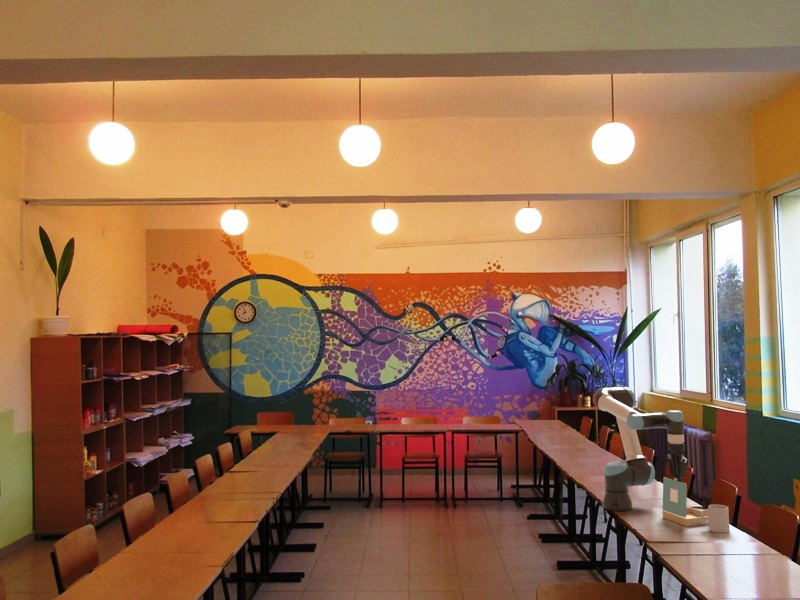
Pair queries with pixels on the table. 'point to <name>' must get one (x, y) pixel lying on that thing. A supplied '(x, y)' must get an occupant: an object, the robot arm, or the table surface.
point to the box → (687, 517)
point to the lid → (674, 497)
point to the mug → (717, 518)
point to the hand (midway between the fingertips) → (678, 491)
